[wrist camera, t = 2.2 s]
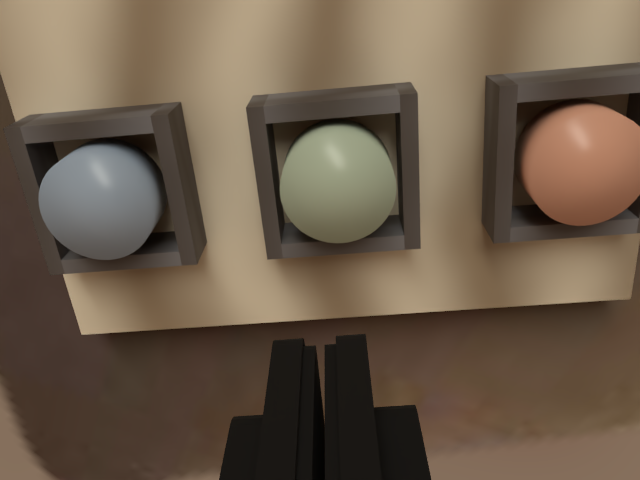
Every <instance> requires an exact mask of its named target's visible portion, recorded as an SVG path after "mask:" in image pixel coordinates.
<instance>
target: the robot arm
mask: <svg viewBox="0 0 640 480" xmlns="http://www.w3.org/2000/svg"><path fill="white" fill-rule="evenodd" d="M219 480H431V476H430V471H429V466H428V462H427V457H426V452H425V447H424V442H423V437H422V433H421V428H420V423H419V418H418V413H417V409H416V406H415V405H405V406H390V407H375V408H374V406H373V397H372V388H371V379H370V370H369V361H368V352H367V343H366V335H365V334H358V335H344V336H336V344H330V345H325V424H324V415H323V406H322V397H321V388H320V379H319V369H318V360H317V351H316V346H305V343H304V339H303V338H302V339H287V340H274V341H273V345H272V353H271V360H270V367H269V375H268V382H267V390H266V397H265V405H264V412H263V415H253V416H238V417H233V419H232V421H231V424H230V428H229V433H228V438H227V443H226V448H225V453H224V458H223V463H222V468H221V473H220V478H219Z"/></svg>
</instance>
